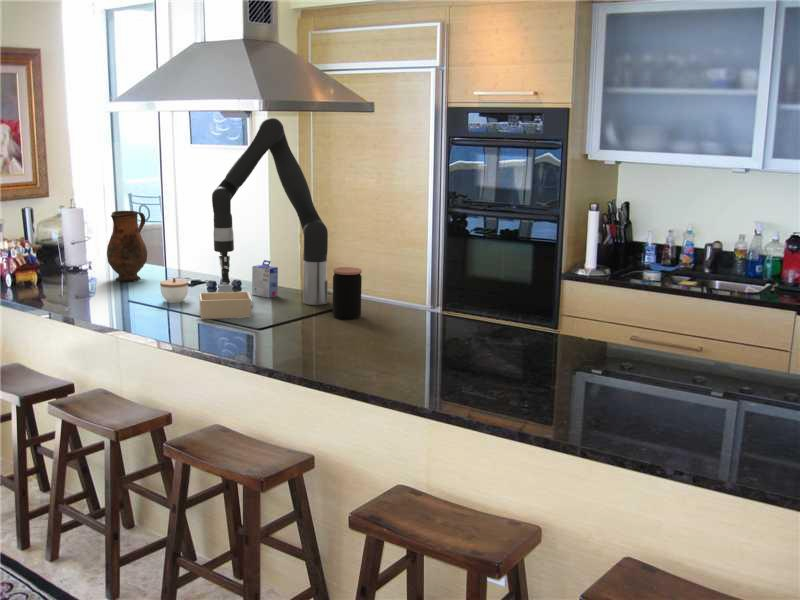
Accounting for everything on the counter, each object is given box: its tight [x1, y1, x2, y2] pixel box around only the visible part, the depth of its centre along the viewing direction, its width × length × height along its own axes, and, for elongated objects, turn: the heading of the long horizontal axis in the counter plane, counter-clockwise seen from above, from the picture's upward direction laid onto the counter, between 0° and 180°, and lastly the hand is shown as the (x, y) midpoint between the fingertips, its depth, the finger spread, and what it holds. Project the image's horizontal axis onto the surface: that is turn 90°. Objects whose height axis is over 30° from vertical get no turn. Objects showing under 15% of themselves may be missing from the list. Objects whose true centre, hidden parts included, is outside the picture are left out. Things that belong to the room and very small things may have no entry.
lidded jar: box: [159, 277, 189, 304], centre depth 319 cm, size 11×11×9 cm
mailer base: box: [199, 291, 252, 320], centre depth 301 cm, size 18×13×7 cm
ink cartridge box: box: [251, 259, 279, 299], centre depth 333 cm, size 10×6×14 cm, turn 58°
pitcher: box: [106, 210, 148, 283], centre depth 356 cm, size 17×21×30 cm
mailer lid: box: [218, 283, 253, 307], centre depth 318 cm, size 19×14×8 cm
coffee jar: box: [332, 266, 363, 321], centre depth 302 cm, size 11×11×18 cm
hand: (225, 279), depth 317 cm, fingers open, 8 cm apart
